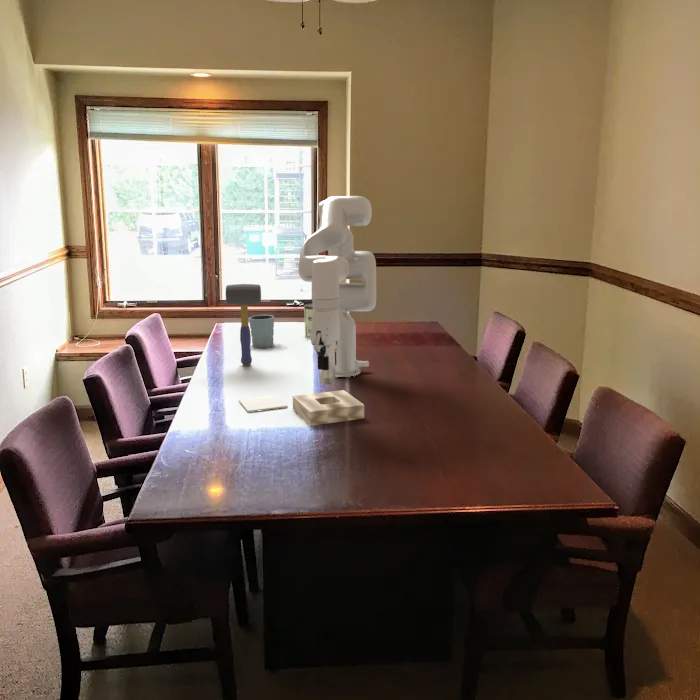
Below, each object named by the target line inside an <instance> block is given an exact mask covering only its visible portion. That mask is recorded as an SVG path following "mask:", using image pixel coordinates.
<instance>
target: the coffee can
mask: <svg viewBox="0 0 700 700" xmlns="http://www.w3.org/2000/svg"><path fill="white" fill-rule="evenodd" d="M303 308H304V309H303V310H304V338H306V339H308V340H311V323H312V314H313V302H312V303H305V304H304V305H303Z"/></svg>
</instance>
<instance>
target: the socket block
mask: <svg viewBox="0 0 700 700" xmlns="http://www.w3.org/2000/svg"><path fill="white" fill-rule="evenodd" d="M293 409H294V410H295V411H296V412H297V413H298V414H297V413H296V412H295V411H294V410H293ZM292 410H293V411H294V412H295V413H296V414H297V415H299V416H300V418H302V419H303V420H304V421H305V422H306V424H308V425H309V426H310V427H311V426H317V425H318V426H319V425H320V426H321V425H326V424H332V423H333V424H334V423H340V422H341V423H342V422H347V421H354V420H361V419H365V404H364V403H362V402H361V401H360V400H358V399H356V398H355V397H354V396H353V395H351V394H350V393H349V392H347V391H346V390H344V389H342V390H333V391H326V392H325V391H324V392H316V393H310V394H309V393H308V394H307V393H306V394H301V395H292Z"/></svg>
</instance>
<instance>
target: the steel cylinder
mask: <svg viewBox="0 0 700 700" xmlns="http://www.w3.org/2000/svg"><path fill="white" fill-rule="evenodd" d="M321 345H324V343H321ZM321 348H323V350H324V347H321ZM327 356H329V370H319V383H320V384H321V385H333V384H336V377H335V341H334V342H332V344H330V345H328V353H327Z"/></svg>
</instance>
